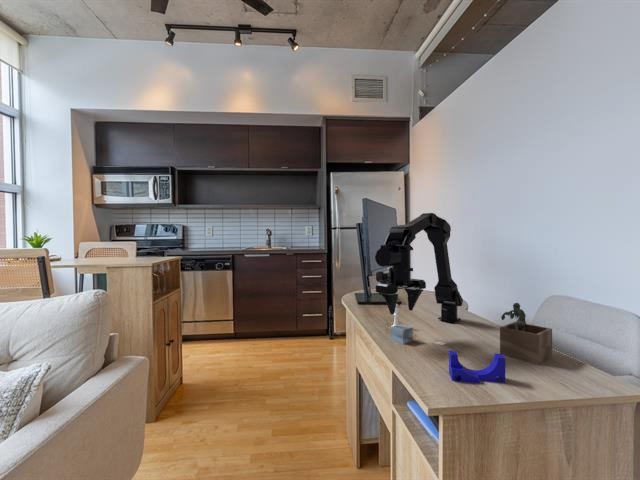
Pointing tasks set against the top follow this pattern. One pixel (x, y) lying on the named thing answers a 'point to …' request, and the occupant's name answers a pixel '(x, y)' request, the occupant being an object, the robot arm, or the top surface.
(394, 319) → the chess piece
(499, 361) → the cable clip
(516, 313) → the zombie figurine
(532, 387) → the top surface
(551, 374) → the top surface
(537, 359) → the open brown box
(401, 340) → the blue cube
